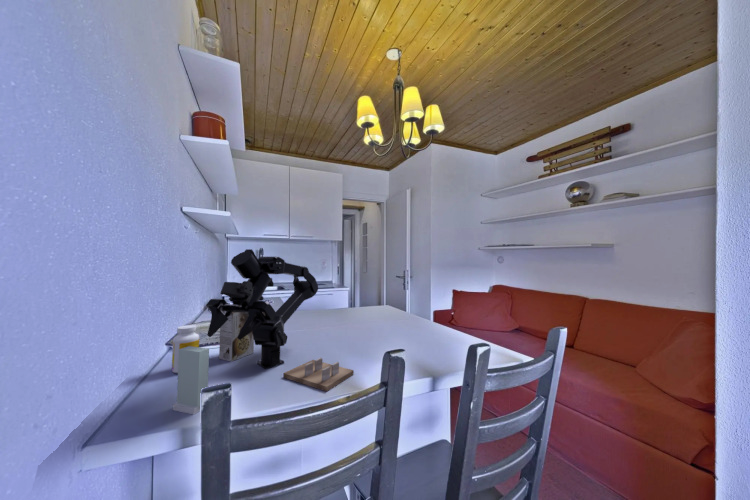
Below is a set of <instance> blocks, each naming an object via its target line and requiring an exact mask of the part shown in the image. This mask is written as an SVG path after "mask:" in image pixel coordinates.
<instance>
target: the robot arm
mask: <svg viewBox="0 0 750 500" xmlns="http://www.w3.org/2000/svg"><path fill="white" fill-rule="evenodd" d="M230 264H231V265H232V266H233V268H234V269H235V271H237V273H238V274H239V276H241V278H242V279H244V281H242V282H235V281H224V282H223V285H222V287H221V290H220V295H221V296H223V295H224V296H227V297H229V298H228V300H229V301H230V303H229V302H227V300H225V299H224V298H211V299H210V300H209V301H208V302H207V304H206V305H205V306H206V308H207V309H208V311H210V313H211V319H210V323H209V326H208V330H207V334H206V335H207V336H208V338H211V337H212V336H214V335H215V334H216V333H217V332H218V331H220V327H221V326H222V325H223V324H224V323H225V322H226V321H227V320H228V318H227V317H228V316H230V315H231V313H232V312H241V313H248V318H247V320H246V322H245V324H244V325H243V327H242V329H241V331H240V333H239V335H238V337H237V338H238V339H239V340H241V339H242V338H244V337H245V336H246V335H248V334H249V333H250V332H252V331H253V332H252V334H253V338H254V345H255V346H260V347H261V349H260V355H261V357H260V360H258V361H256V364H257V365H258V366H260V367H262V368H264V369H269V368H272V367H275V366H279V365H283V364H285V361H284V360H283V359H281V347H284V346H285V344H287V341H288V335H287V334H286V333H285V324H286V323H287V321H288V320H289V319H290V318H291V317H292V316H293V314H294V313H295V312H296V311H297V310H298V309H299V307H300V306H301V305H302V304H303V303H304V301H307V300H308V299H311V298H313V297H314V296H315V295H317V292H318V291H319V284H318V282H317V280H316V278H315V276H314V275H313V274H312V273H311V272H310V271H309V268H308V267H306V266H305V265H304V266H303V265H302V266H301V265H297V264H294V263H293V264H292V263H289V262H286V260H285V259H284V258H281V257H280V256H259V258H258V257H257V256H256V253H255V252H254V250H253V248H252V249H250V248H249V249H247V248H246V249H245V250H244V251H243V252H239V253H238V254H236V255H235V256H233V257H232V259H231V261H230ZM270 275H288V276H293V282H292V285H293V291H294V292H293V293H292V294H291V295H290V296H289V297H288V298H287V299H286V300H285V301H284V303H283V304H281V306H279V308H278V309H274V307H273V306H272V305H271V303H270V302H269V301H267V300H265V301H264V296H263V294H264V293H265V291H266V289H267V287H274V285H275V284H274V281H273V278H272V277H271V276H270ZM299 278H304V280H300V279H299ZM245 279H247V280H245ZM231 302H232V304H231Z"/></svg>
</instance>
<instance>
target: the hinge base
mask: <svg viewBox="0 0 750 500" xmlns="http://www.w3.org/2000/svg"><path fill="white" fill-rule="evenodd" d="M354 374H355V373H354V369H350V368H347V367H343V366H340V362H339V361H336V362H334V363H327V362H324V361H323V357H320V358H317V359H311V360H309V361H307V362H305V363H303V364H300V365H298V366H296V367H294V368H292V369H289V370H287V371H285V372H283V377H282V378H285V379H287V380H290V381H293V382H297V383H300V384H302V385H305V386H308V387H312V388H314V389H318V390H321V391H323V392H328V391H330V390H331V389H333V388H335V387H336V386H338V385H340V384H341V383H342V382H344V381H346V380H347V379H349V378H350V377H352V376H353V375H354Z"/></svg>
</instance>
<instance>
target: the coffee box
mask: <svg viewBox="0 0 750 500" xmlns="http://www.w3.org/2000/svg"><path fill="white" fill-rule="evenodd" d="M227 318H228V320H227V321H226V322H225V323H224V324H223V325H222V326H221V327H220V328H219V349H218V350H219V351H218V352H219V354H218V358H219V360H223V361H228V362H235V361H237V360H239V359H242V358H244V357H247V356H249V355H251V354H254V352H255V350H254V348H255V346H254V345H255V342H254V338H253V334H252V332H253V331H252V332H250V333H249V334H248V335H246V336H245V337H244V338H242V339H241V340H239V339H238V338H237V337H238V335H239V333H240V331H241V329H242V327H243V325H244V324H245V322H246V320H247V318H248V313H241V312H232V313H231V315H230V316H228V317H227Z"/></svg>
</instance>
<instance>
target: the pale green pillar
mask: <svg viewBox="0 0 750 500" xmlns="http://www.w3.org/2000/svg"><path fill="white" fill-rule="evenodd" d="M209 362H210V348H206V347H200V346H199V347H192V346H188V347H185V348H182V349H179V362H178V373H177V388H176V389H177V390H176V391H177V392H176V402H175V403H174V404H172V411H176V412H180V413H184V414H190V415H196V414H198V413H199V412H201V411H200V393H201V389H202V388H205V387H209V366H210V365H209Z"/></svg>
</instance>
